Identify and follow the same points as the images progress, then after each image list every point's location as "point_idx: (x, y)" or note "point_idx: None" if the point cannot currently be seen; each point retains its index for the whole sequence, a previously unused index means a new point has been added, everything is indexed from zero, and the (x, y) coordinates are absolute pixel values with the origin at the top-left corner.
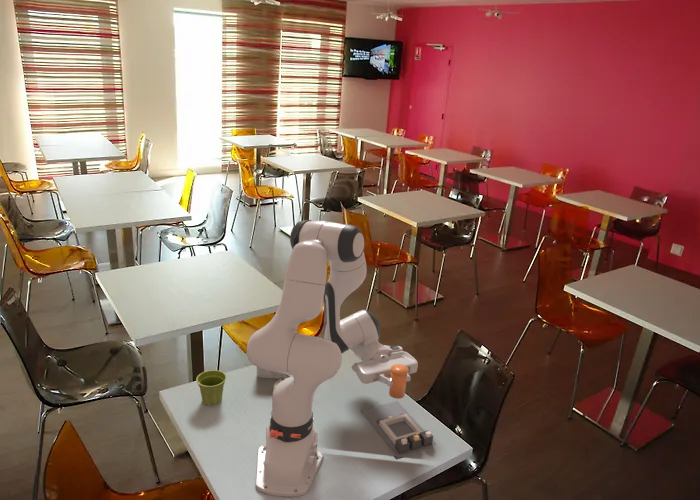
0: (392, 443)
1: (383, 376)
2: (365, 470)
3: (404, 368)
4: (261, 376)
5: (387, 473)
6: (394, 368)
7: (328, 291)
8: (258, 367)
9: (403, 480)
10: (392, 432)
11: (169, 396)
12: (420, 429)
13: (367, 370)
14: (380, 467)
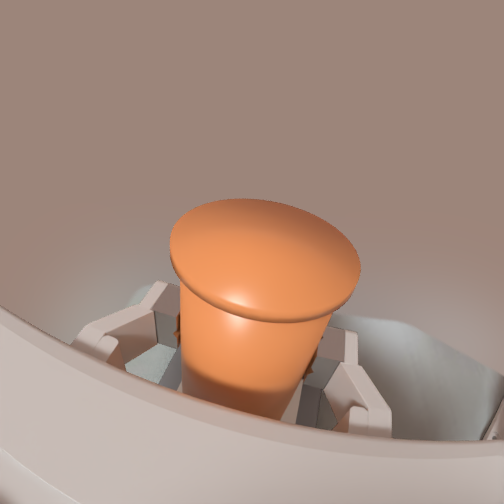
0: (302, 396)
1: (371, 393)
2: (408, 376)
3: (220, 223)
4: None
5: (367, 346)
6: (315, 268)
7: None
8: None
9: (345, 317)
10: (285, 410)
11: None
12: (171, 379)
13: (489, 489)
14: (373, 366)
